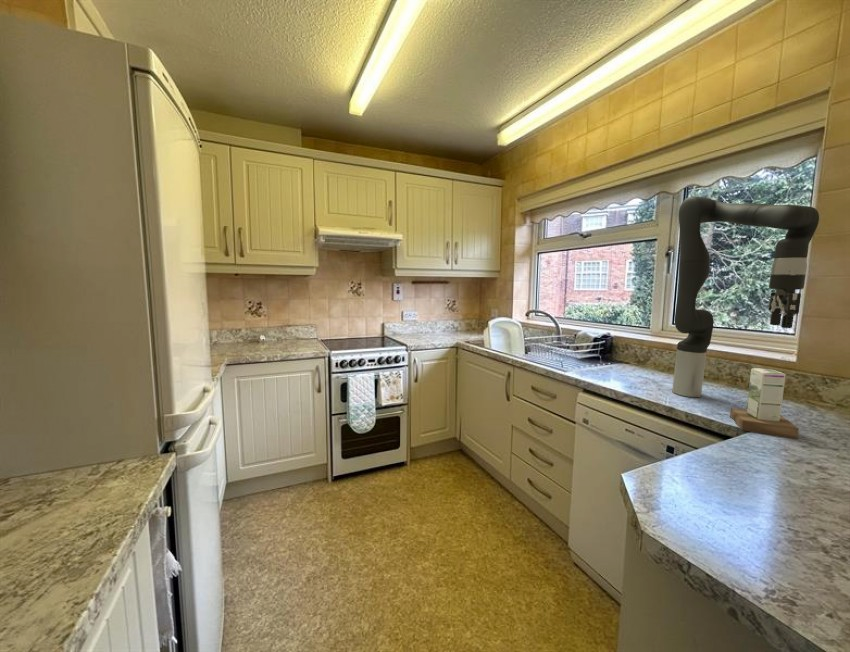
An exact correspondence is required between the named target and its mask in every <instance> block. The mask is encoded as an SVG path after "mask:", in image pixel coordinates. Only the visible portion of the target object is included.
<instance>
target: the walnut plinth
mask: <svg viewBox="0 0 850 652" xmlns="http://www.w3.org/2000/svg"><path fill="white" fill-rule="evenodd" d="M730 417H731V418H732V419H733V420H734V421H735V422H736V423H735V422H734V421H733V420H732V419H731V418H730ZM729 418H730V419H731V420H732V421H733V422H734V423H735V424H736V426H738V428H739V427H740V428H739V429H740V430H741V431H745V432H751V433H752V432H753V433H757V434H758V433H759V434H763V435H764V434H765V435H771V436H777V437H784V438H788V439H789V438H790V439H796V440H798V437H799V436H798V435H799V430H800V428H799V427H797V426H796V425H795V424H793V423H792V422H790V421H789V419H787V418H786V417H785V416H783V415H781V414H780V421H766V420H759V419H756V418H754V417H753V416H751V415H749V414H747V413H746V409H742V408H741V409H740V408H734V407H731V408H730V411H729Z"/></svg>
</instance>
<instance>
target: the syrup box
mask: <svg viewBox="0 0 850 652" xmlns="http://www.w3.org/2000/svg"><path fill="white" fill-rule="evenodd" d="M786 375H787V373H783V372H780V371H778V370H775V369H770V368H758V367H757V368H755V367H754V368H751V371H750V376H749V385H748V386H749V387H748V394H747V395H748V396H747V403H746V409H745V410H746V413H747V414H749V415H751V416H753V417H754V418H756V419H759V420H766V421H780V415H781V413H782V405H783V396H784V390H785V383H786Z"/></svg>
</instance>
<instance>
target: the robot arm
mask: <svg viewBox="0 0 850 652" xmlns="http://www.w3.org/2000/svg"><path fill="white" fill-rule="evenodd" d="M717 222H719V223H720V222H722V223H724V222H725V223H732V224H737V225H741V226H750V227H759V228H760V227H761V228H762V227H763V228H772V229H777V230H786V231H787V232H786V235H785V238H783V239H780V240H778V241H777V242H776V245H775V248H774V249H775V250H774V256H773V257H774V259H773V262H772V265H771V270H770V276H769V283H768V284H769V285H768V288H769V289H770V290H775V292H774V291H772V292H770V296H769V297H770V298H769V303H768V309H767V310H768V311H769V312H770V321H769V325H772V326H779V325H780V326H781V328H782V329H792V328H793V325H794V317H795V316H796V315H798V314H799V313H800V308H801V307H800V305H801V297H802V293H801V292H796V290H803V289H804V288H805V282H806V276H807V269H808V255H809V248H810V247H809V246H810V242H811V241H812V239H813V237H814V235H815V232H816V230H817V228H818V225H819V222H820V213H819V211H818V210H817V208H815V207H813V206H810V205H809V206H808V205H799V204H771V203H759V202H758V203H754V202H751V203H750V202H747V203H745V202H744V203H743V202H742V203H729V202H724V201H720V200H715V199H712V198H709V197H702V196H701V197H700V196H689V197H687V198H684V200H683V201H682V203H681V204H680V206H679V210H678V226H679V245H680V246H679V261H678V262H679V264H678V265H679V266H678V267H679V268H678V292H677V298H676V299H677V301H676V305H675V314H674V326H675V328H676V330H677V331H678V332H679V333H682V334H688V335H687V337H685V338H684V339H683V340H681V341H679V342H678V343H677V345H676V353H675V355H676V356H675V363H674V373H673V381H672V392H673V394H675V395H678V396H679V395H680V396H683V397H689V398H702V393H703V384H704V376H705V368H706V358H707V351H708V348H709V346H710V344H711V342H712V341H711V340H712V335H713V331H714V323H715V322H714V317H713V314H712V312H710V311H709V310H706V309H696V302H697V298H698V297H697V296H698V294H699V292H700V290H701V289H702V287H703V286H704V284H705V282H706V281H707V280H708V277H709V274H710V264H711V262H710V261H711V259H710V258H711V256H710V252H709V250H708V248H707V245H706V244H705V242H704V240H703V237H702V234H701V224H703V223H704V224H705V223H717Z"/></svg>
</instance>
